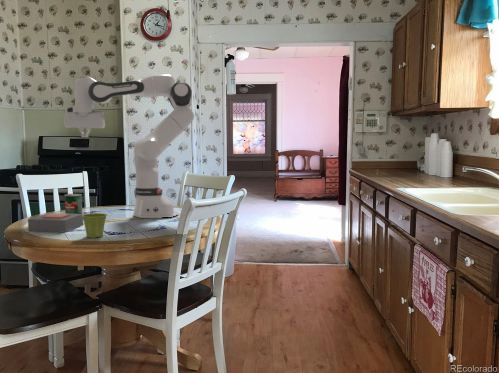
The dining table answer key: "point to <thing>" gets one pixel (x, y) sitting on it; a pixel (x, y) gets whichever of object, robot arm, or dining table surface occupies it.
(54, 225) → the button housing
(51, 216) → the button
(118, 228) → the dining table surface
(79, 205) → the canned tomato
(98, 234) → the plant pot
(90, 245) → the dining table surface
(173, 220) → the dining table surface
